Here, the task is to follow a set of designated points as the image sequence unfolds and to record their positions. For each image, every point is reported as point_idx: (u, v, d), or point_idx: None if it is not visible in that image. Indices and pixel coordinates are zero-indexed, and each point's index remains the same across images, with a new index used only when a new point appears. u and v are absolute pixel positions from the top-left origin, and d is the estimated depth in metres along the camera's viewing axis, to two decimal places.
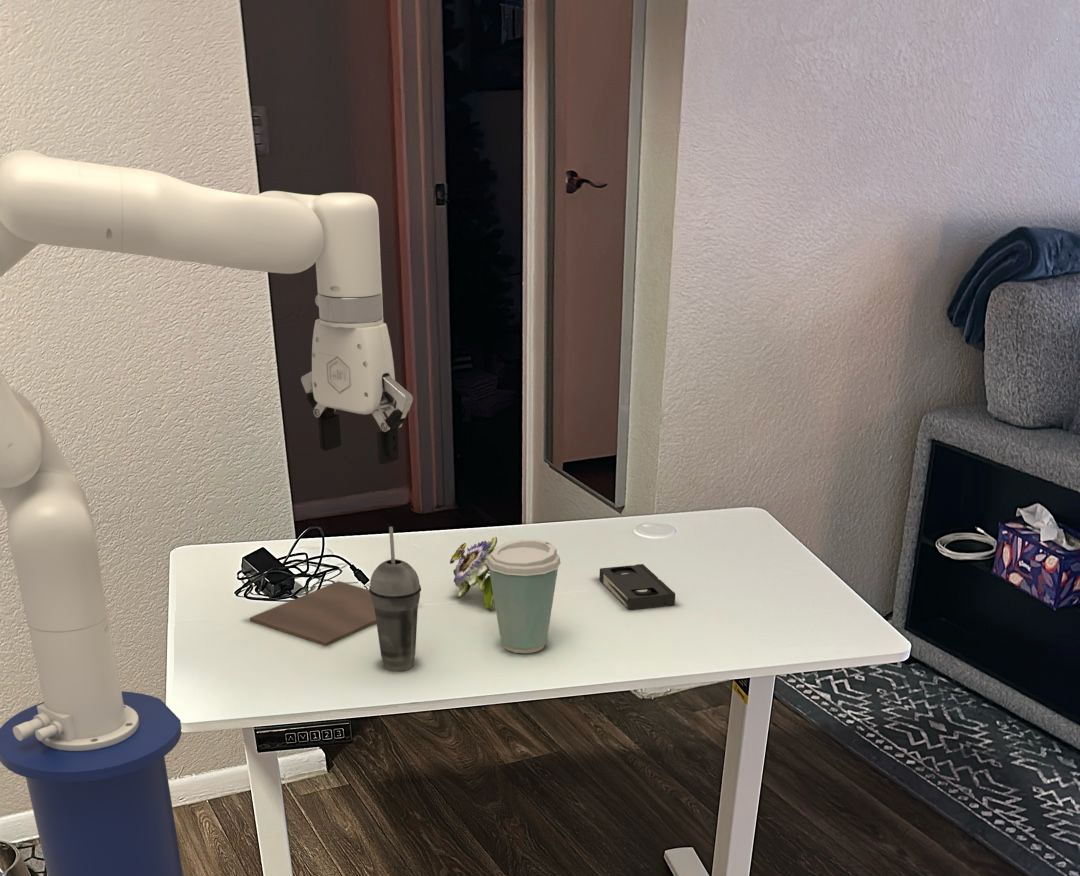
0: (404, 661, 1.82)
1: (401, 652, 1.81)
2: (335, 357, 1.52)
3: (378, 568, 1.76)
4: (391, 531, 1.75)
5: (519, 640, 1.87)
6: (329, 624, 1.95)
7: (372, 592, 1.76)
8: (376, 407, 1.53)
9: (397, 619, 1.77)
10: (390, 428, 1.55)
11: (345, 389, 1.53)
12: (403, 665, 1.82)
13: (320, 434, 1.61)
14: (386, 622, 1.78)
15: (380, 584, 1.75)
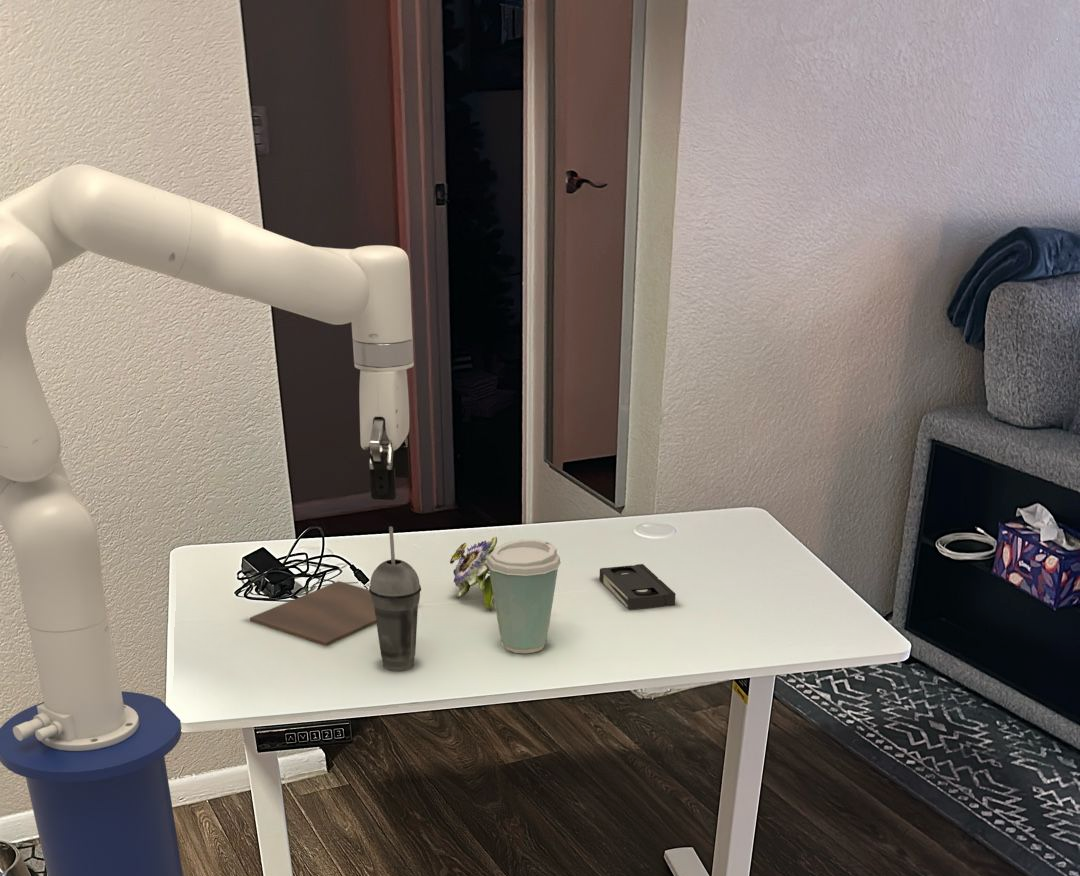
0: (404, 661, 1.82)
1: (401, 652, 1.81)
2: None
3: (378, 568, 1.76)
4: (391, 531, 1.75)
5: (519, 640, 1.87)
6: (329, 624, 1.95)
7: (372, 592, 1.76)
8: (366, 445, 1.63)
9: (397, 619, 1.77)
10: (373, 467, 1.63)
11: None
12: (403, 665, 1.82)
13: None
14: (386, 622, 1.78)
15: (380, 584, 1.75)
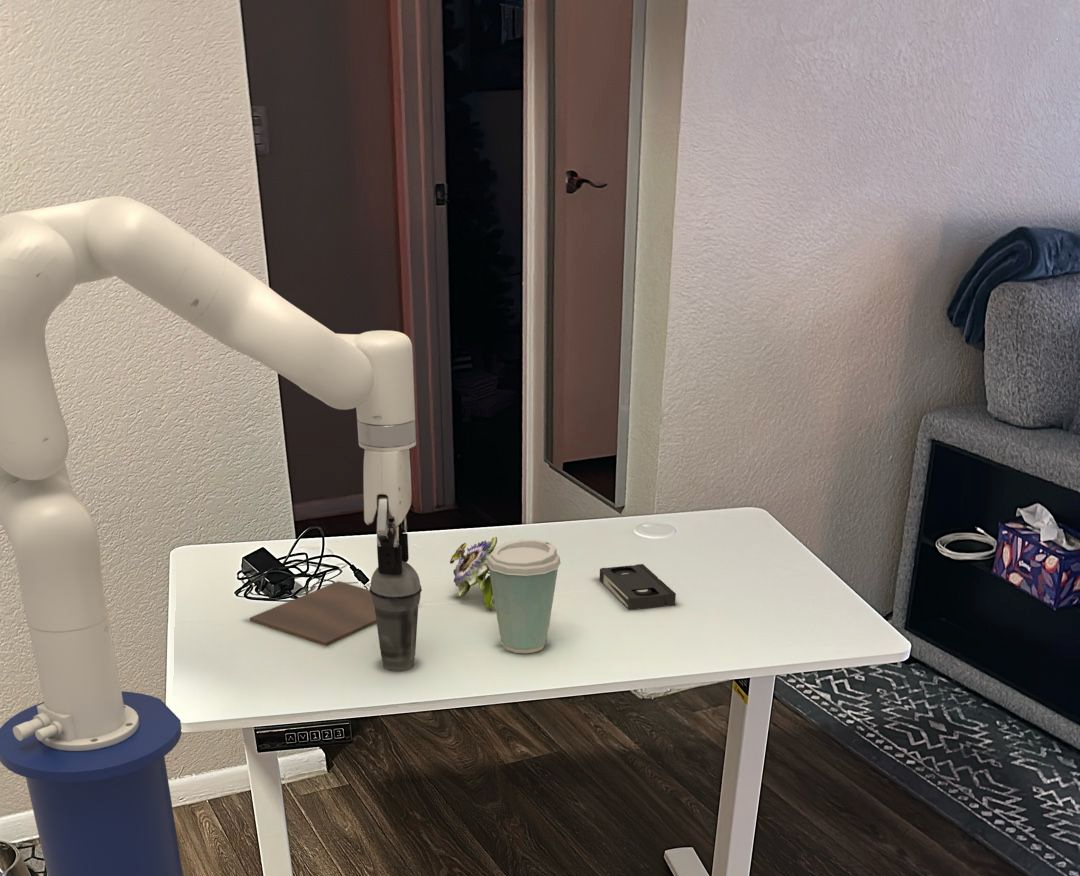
0: (404, 661, 1.82)
1: (401, 652, 1.81)
2: None
3: None
4: (392, 531, 1.75)
5: (519, 640, 1.87)
6: (329, 624, 1.95)
7: (373, 592, 1.76)
8: (369, 521, 1.68)
9: (397, 619, 1.77)
10: (381, 545, 1.71)
11: None
12: (403, 665, 1.82)
13: None
14: (386, 622, 1.78)
15: (381, 585, 1.75)
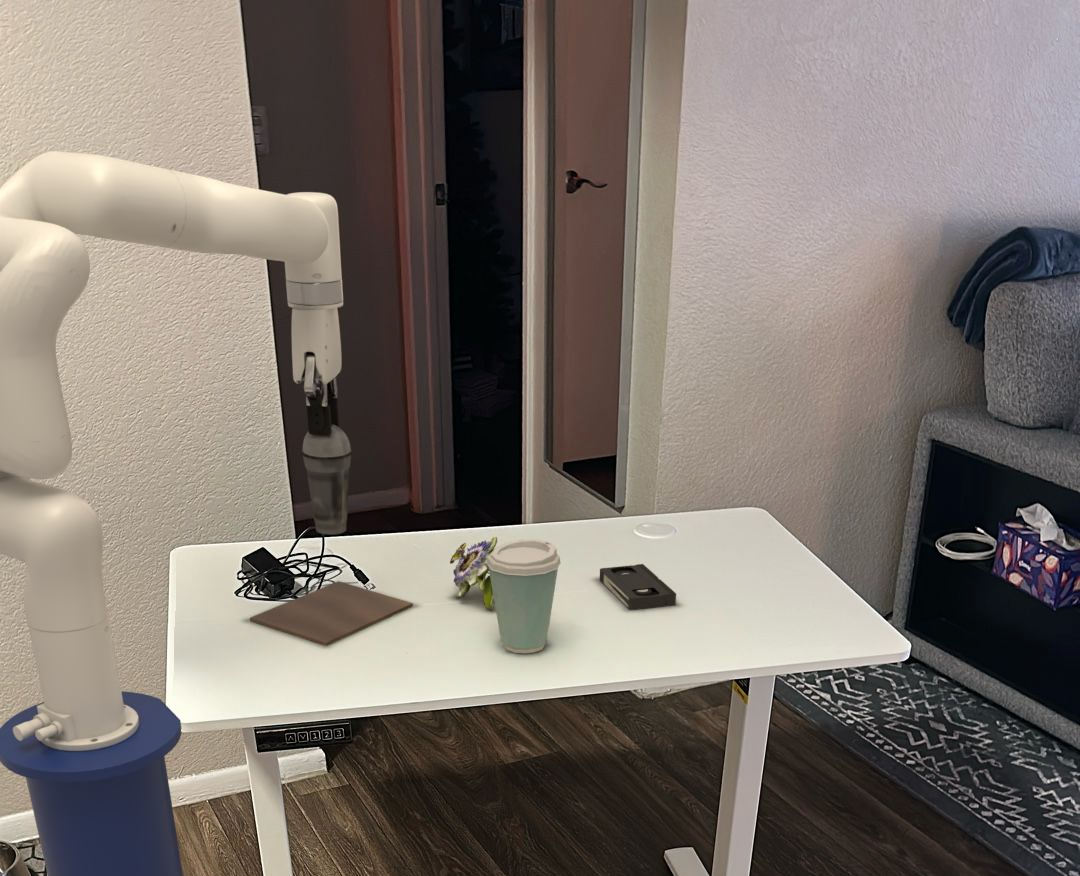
0: (336, 524, 1.89)
1: (332, 515, 1.88)
2: None
3: None
4: None
5: (519, 640, 1.87)
6: (329, 624, 1.95)
7: (304, 454, 1.84)
8: (298, 378, 1.76)
9: (328, 481, 1.85)
10: (310, 404, 1.79)
11: None
12: (335, 528, 1.90)
13: None
14: (317, 484, 1.85)
15: (311, 446, 1.82)
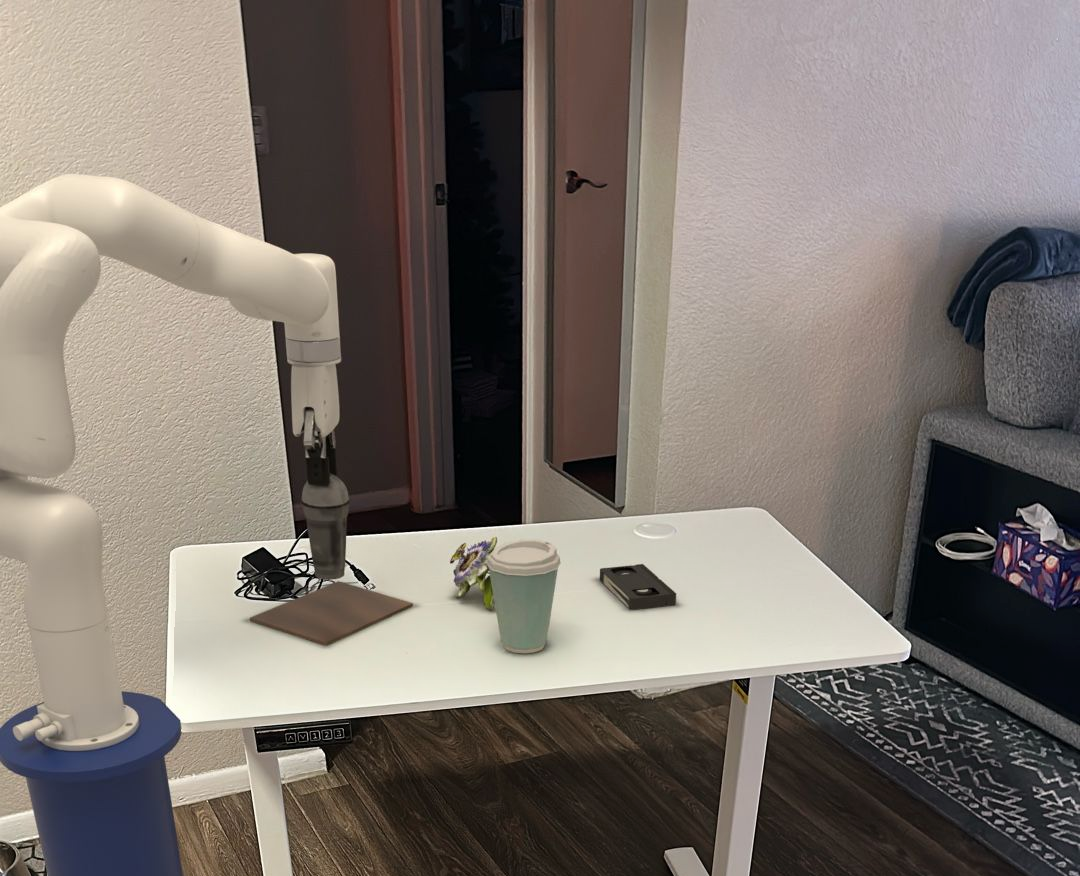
0: (334, 569, 1.95)
1: (331, 561, 1.94)
2: None
3: None
4: None
5: (519, 640, 1.87)
6: (329, 624, 1.95)
7: (303, 503, 1.89)
8: (297, 432, 1.81)
9: (327, 529, 1.90)
10: (309, 456, 1.84)
11: None
12: (333, 574, 1.95)
13: None
14: (317, 532, 1.91)
15: (310, 495, 1.88)
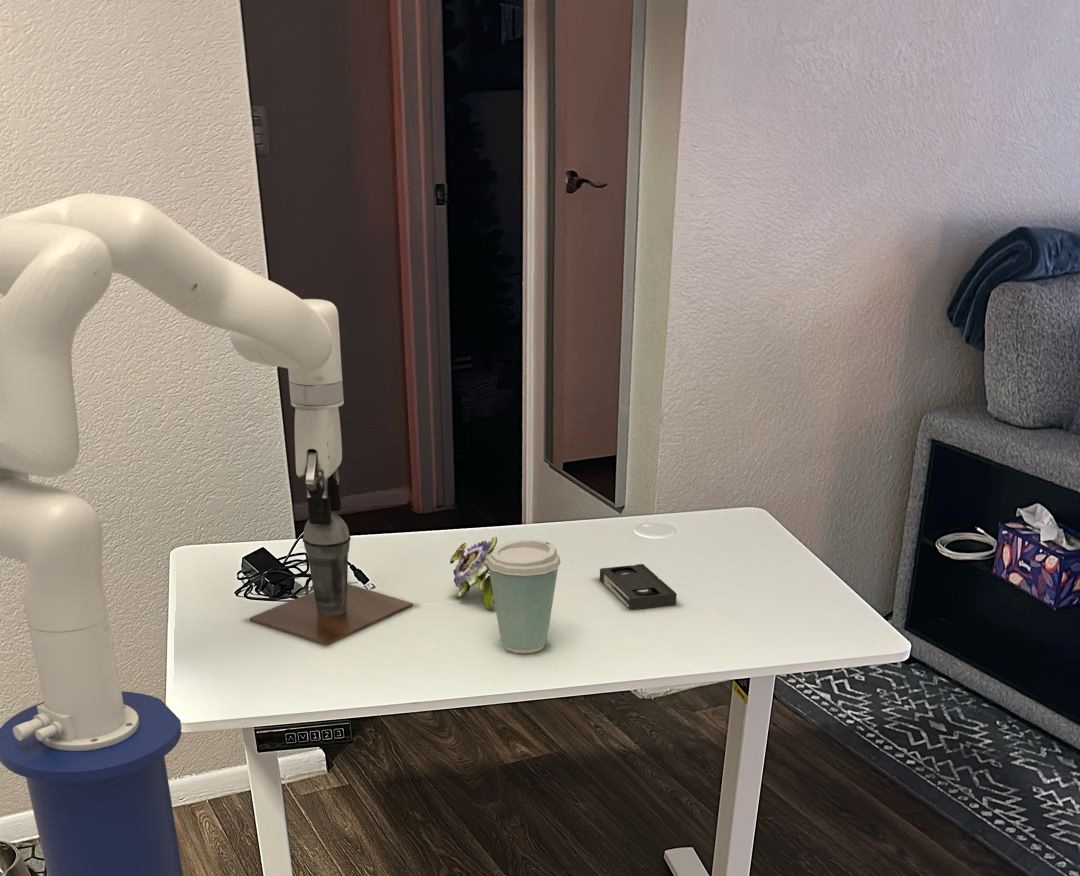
0: (336, 606, 1.98)
1: (333, 597, 1.97)
2: None
3: None
4: (321, 485, 1.91)
5: (519, 640, 1.87)
6: (329, 624, 1.95)
7: (305, 541, 1.92)
8: (301, 473, 1.84)
9: (328, 566, 1.93)
10: (311, 496, 1.86)
11: None
12: (335, 610, 1.98)
13: None
14: (318, 569, 1.94)
15: (311, 534, 1.91)
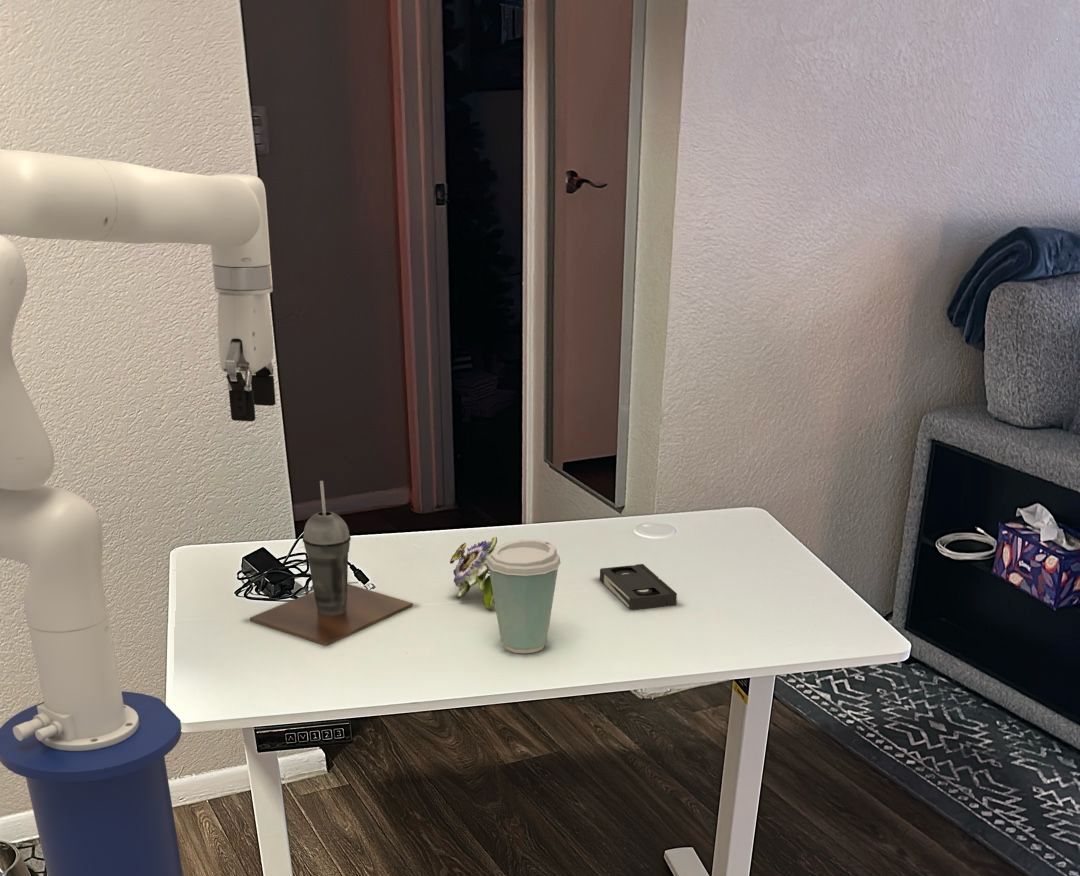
0: (336, 605, 1.98)
1: (333, 597, 1.97)
2: None
3: (310, 519, 1.92)
4: (322, 485, 1.91)
5: (519, 640, 1.87)
6: (329, 624, 1.95)
7: (305, 541, 1.92)
8: (225, 366, 1.70)
9: (328, 566, 1.93)
10: (232, 388, 1.70)
11: None
12: (335, 610, 1.98)
13: None
14: (318, 569, 1.94)
15: (311, 534, 1.91)
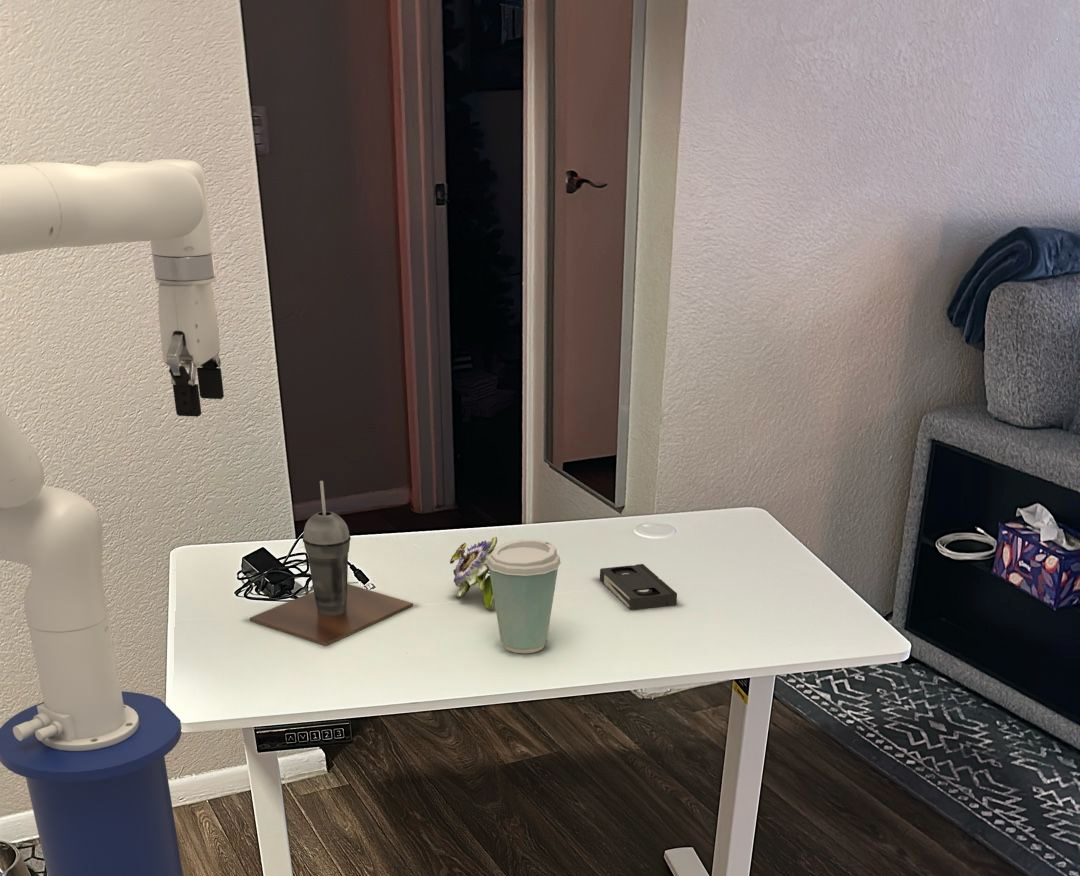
0: (336, 605, 1.98)
1: (333, 597, 1.97)
2: None
3: (310, 519, 1.92)
4: (322, 485, 1.91)
5: (519, 640, 1.87)
6: (329, 624, 1.95)
7: (305, 541, 1.92)
8: (168, 360, 1.64)
9: (328, 566, 1.93)
10: (175, 382, 1.64)
11: None
12: (335, 610, 1.98)
13: None
14: (318, 569, 1.94)
15: (311, 534, 1.91)
